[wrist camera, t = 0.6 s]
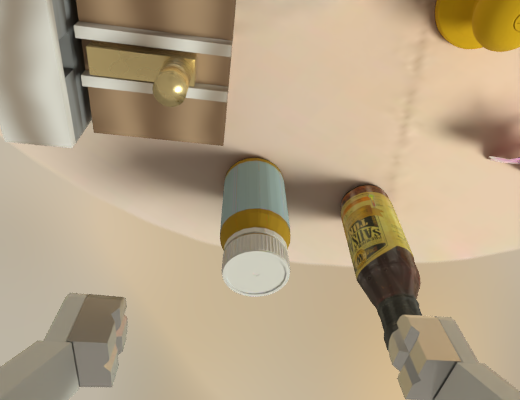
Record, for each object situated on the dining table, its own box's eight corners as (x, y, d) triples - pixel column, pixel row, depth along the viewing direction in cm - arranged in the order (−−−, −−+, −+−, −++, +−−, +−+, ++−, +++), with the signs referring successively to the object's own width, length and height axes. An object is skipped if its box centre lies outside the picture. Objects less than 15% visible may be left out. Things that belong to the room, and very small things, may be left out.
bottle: (212, 176, 48) (200, 271, 36) (258, 144, 45) (262, 234, 33) (249, 211, 51) (250, 309, 39) (294, 183, 48) (309, 278, 37)
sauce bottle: (355, 175, 48) (408, 314, 32) (398, 192, 50) (468, 332, 34) (327, 214, 51) (362, 356, 36) (368, 228, 53) (418, 370, 37)
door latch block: (238, -35, 34) (237, -22, 29) (224, 132, 44) (221, 162, 39) (-9, -71, 32) (-55, -64, 27) (33, 111, 42) (4, 141, 37)
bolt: (196, 52, 35) (189, 77, 31) (196, 81, 37) (188, 109, 32) (91, 39, 34) (66, 63, 30) (95, 69, 36) (72, 96, 31)
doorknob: (447, -50, 34) (541, -52, 34) (425, 46, 39) (507, 45, 39) (489, -38, 28) (602, -40, 28) (456, 74, 33) (553, 72, 33)
